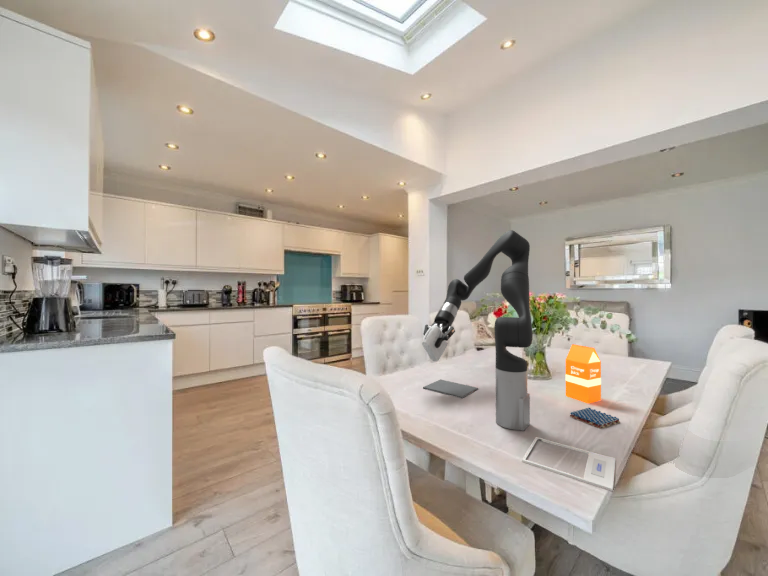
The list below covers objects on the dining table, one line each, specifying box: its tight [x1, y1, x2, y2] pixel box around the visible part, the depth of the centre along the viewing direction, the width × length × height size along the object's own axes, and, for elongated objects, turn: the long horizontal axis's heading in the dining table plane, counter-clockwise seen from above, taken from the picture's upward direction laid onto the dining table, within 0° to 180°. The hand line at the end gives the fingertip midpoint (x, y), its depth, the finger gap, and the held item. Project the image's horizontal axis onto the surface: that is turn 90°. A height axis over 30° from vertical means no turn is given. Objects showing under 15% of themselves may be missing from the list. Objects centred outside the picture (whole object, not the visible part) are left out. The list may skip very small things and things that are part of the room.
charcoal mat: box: [422, 379, 479, 399], centre depth 130 cm, size 18×14×1 cm
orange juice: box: [564, 344, 602, 404], centre depth 118 cm, size 8×9×20 cm
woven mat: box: [569, 407, 621, 430], centre depth 100 cm, size 10×11×2 cm
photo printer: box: [421, 325, 448, 362], centre depth 126 cm, size 10×4×12 cm
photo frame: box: [521, 436, 616, 492], centre depth 76 cm, size 15×1×18 cm
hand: (430, 345), depth 124 cm, fingers closed on photo printer, 4 cm apart
